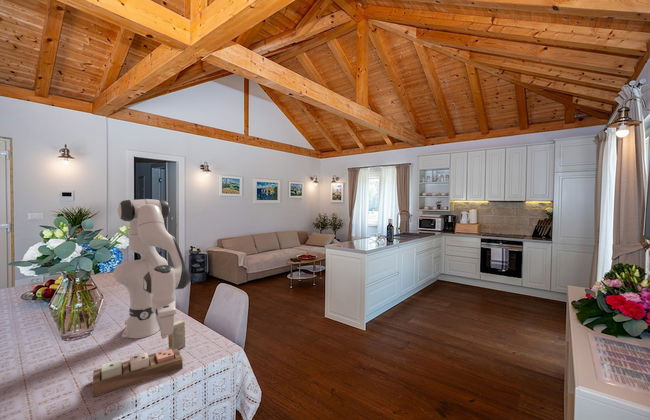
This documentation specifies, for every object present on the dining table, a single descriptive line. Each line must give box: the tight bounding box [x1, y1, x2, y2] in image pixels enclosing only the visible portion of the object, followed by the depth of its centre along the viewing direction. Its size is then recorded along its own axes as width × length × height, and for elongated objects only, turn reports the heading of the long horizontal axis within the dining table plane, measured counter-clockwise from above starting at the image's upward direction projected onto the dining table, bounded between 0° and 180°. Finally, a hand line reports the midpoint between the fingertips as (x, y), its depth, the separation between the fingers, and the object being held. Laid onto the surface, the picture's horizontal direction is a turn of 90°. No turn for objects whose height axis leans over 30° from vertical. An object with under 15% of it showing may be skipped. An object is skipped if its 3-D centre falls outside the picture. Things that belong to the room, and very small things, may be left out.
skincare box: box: [167, 319, 186, 350], centre depth 136 cm, size 6×4×12 cm
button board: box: [92, 347, 184, 398], centre depth 116 cm, size 12×29×4 cm, turn 127°
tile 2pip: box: [129, 351, 149, 371], centre depth 116 cm, size 6×6×5 cm
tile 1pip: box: [101, 359, 122, 380], centre depth 110 cm, size 6×6×5 cm
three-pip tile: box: [155, 348, 174, 364], centre depth 121 cm, size 6×6×5 cm
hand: (163, 337), depth 121 cm, fingers closed
